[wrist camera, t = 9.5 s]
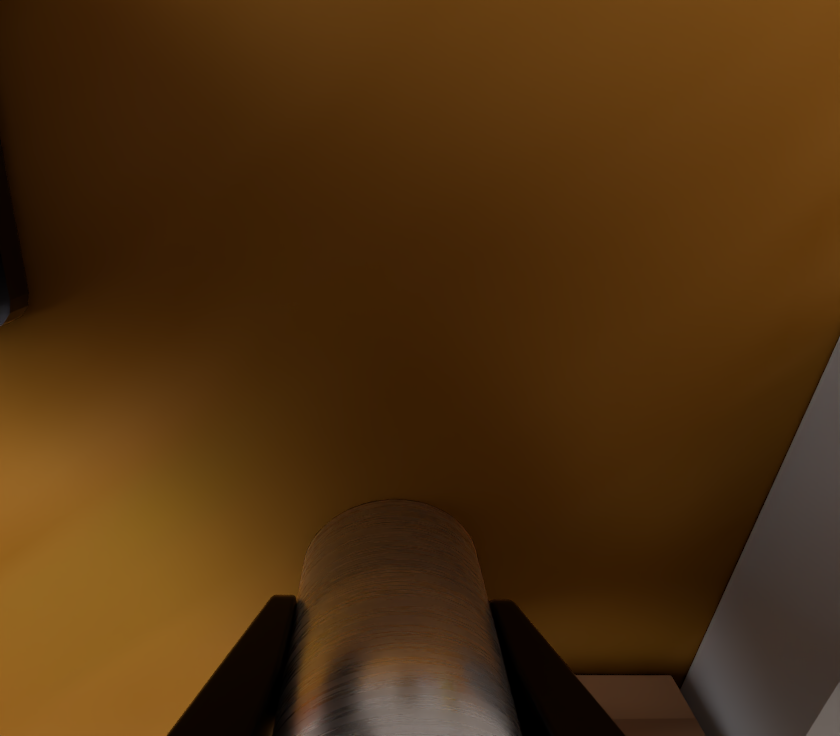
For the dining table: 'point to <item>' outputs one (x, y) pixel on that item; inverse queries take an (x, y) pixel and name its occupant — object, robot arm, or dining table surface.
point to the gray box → (782, 599)
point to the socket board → (643, 704)
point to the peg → (394, 632)
